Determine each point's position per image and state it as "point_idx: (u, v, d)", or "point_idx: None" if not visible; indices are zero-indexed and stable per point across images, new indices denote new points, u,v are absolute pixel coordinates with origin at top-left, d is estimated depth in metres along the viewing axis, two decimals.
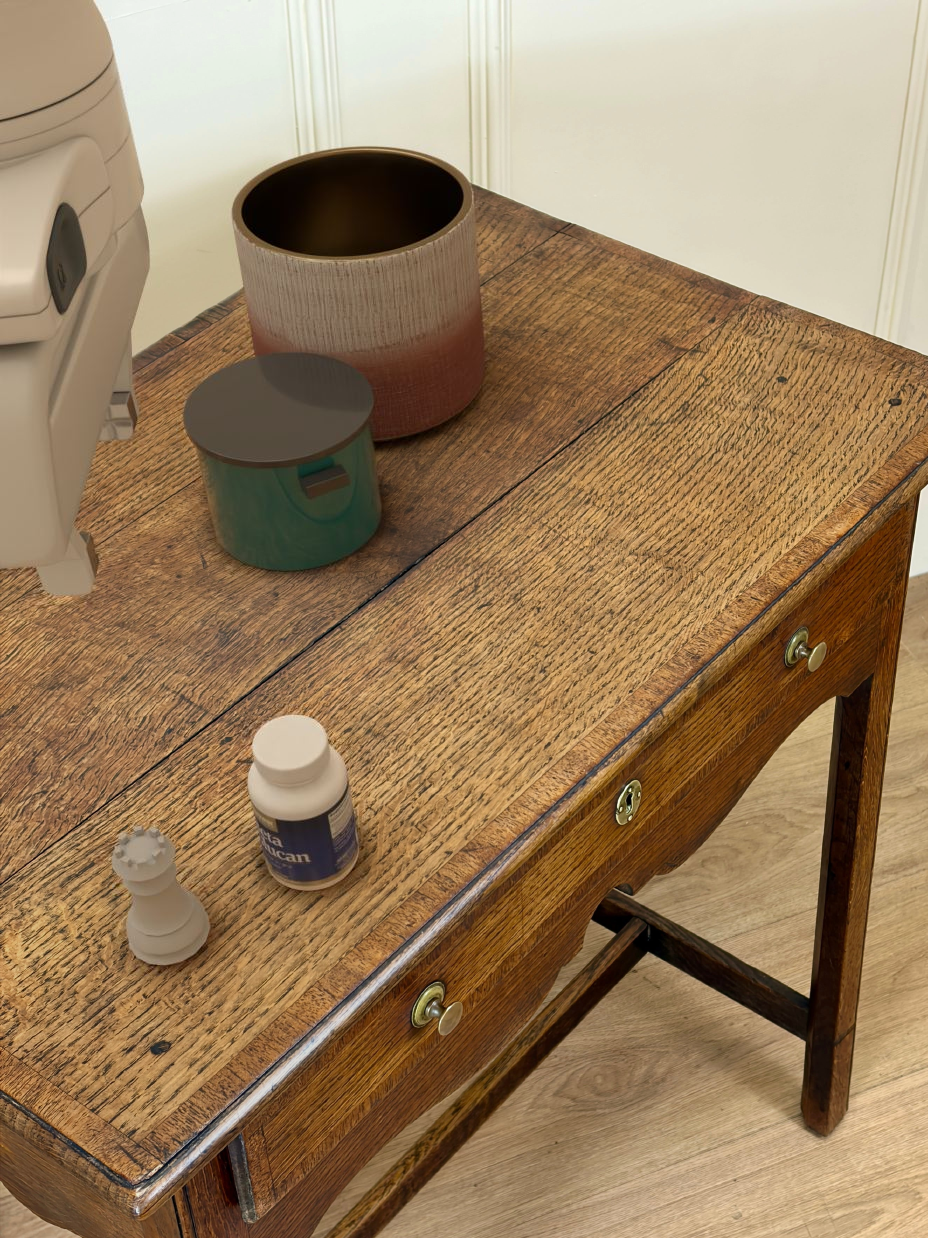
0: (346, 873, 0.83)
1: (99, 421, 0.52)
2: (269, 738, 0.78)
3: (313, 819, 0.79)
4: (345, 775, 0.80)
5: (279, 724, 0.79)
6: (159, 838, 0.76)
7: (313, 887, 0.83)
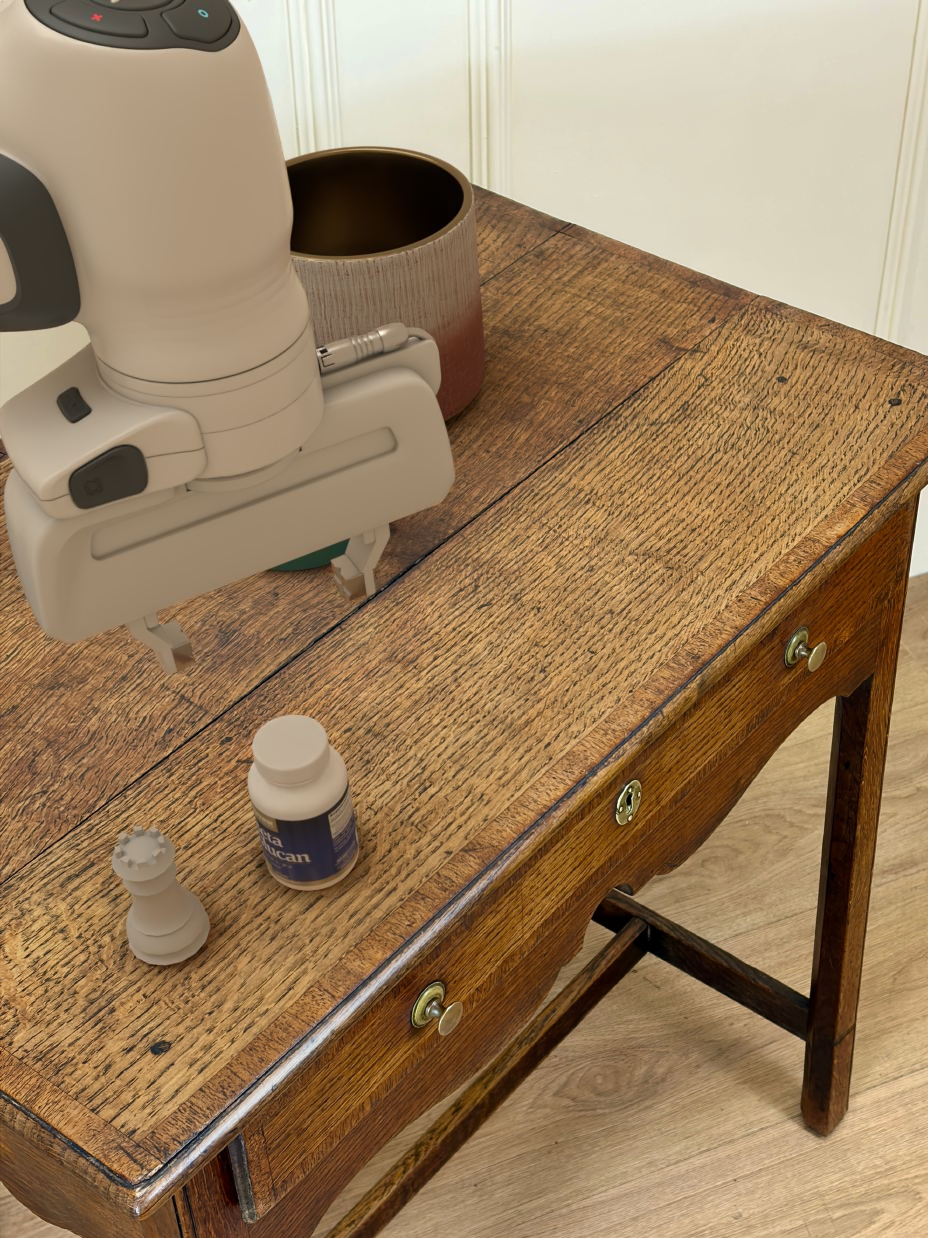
0: (346, 873, 0.83)
1: (211, 581, 0.66)
2: (269, 738, 0.78)
3: (313, 819, 0.79)
4: (345, 775, 0.80)
5: (280, 724, 0.79)
6: (159, 838, 0.76)
7: (313, 887, 0.83)
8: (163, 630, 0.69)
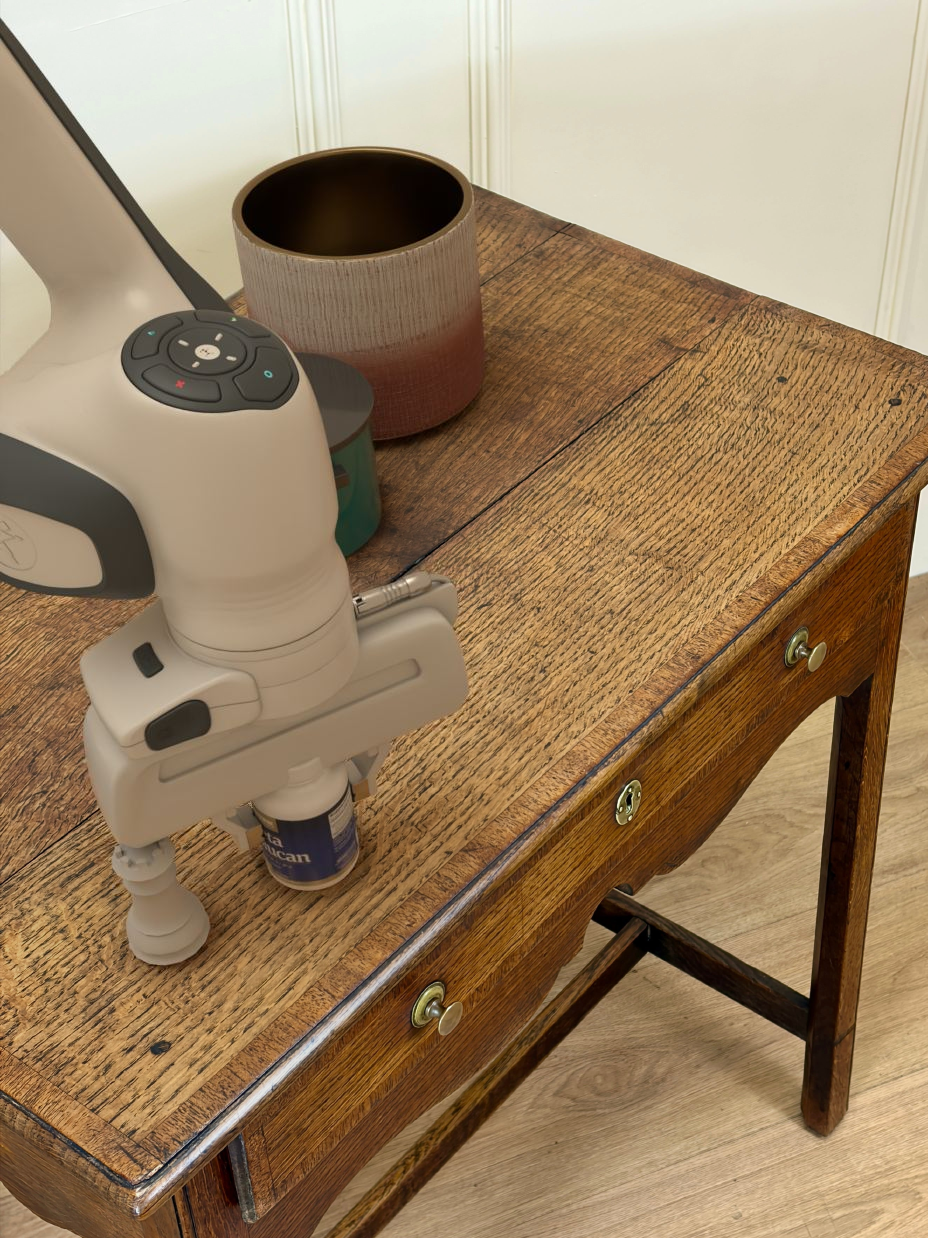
0: (346, 873, 0.83)
1: (259, 790, 0.76)
2: None
3: (314, 819, 0.79)
4: (345, 775, 0.80)
5: None
6: None
7: (313, 888, 0.83)
8: (238, 814, 0.80)
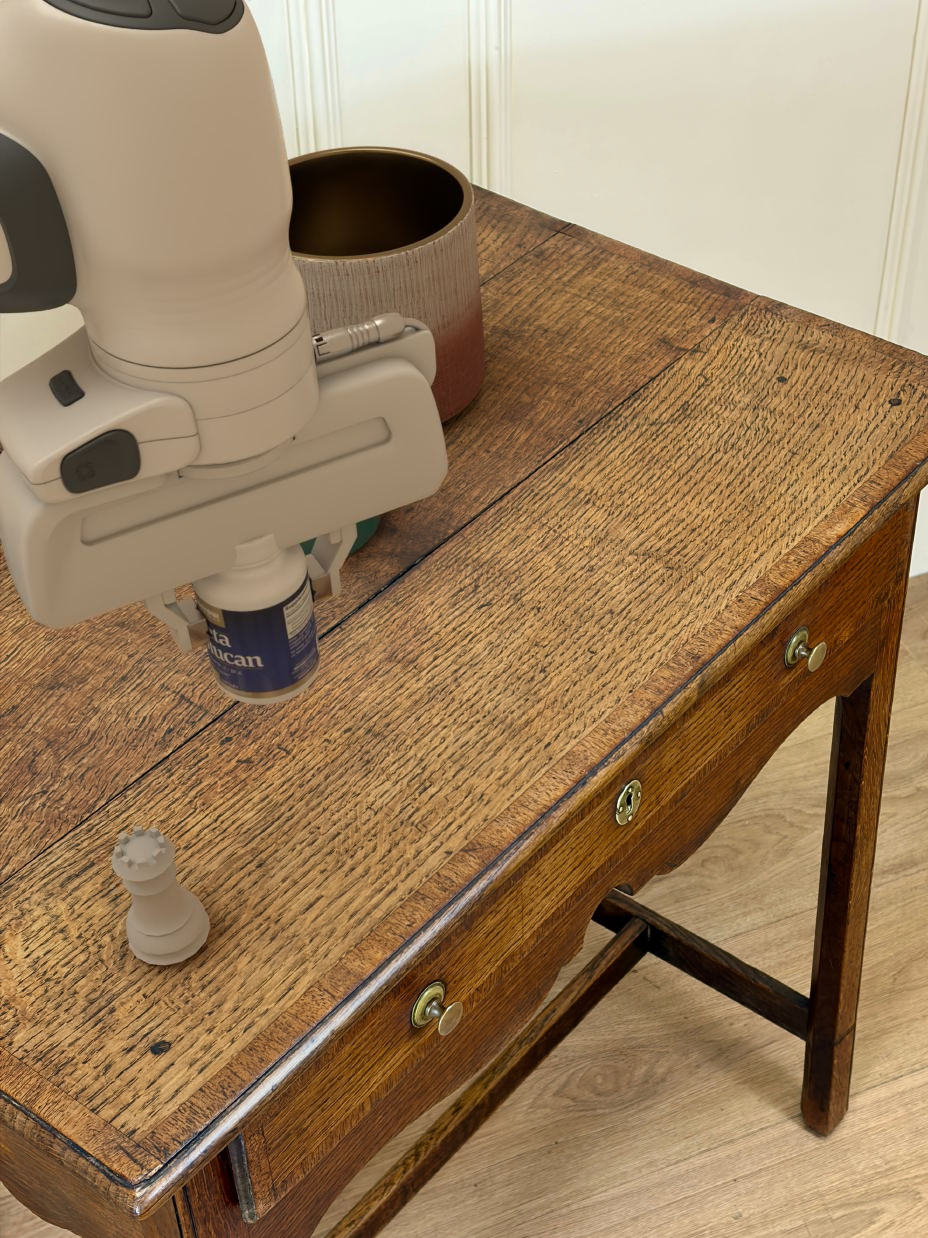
0: (305, 686, 0.73)
1: (201, 568, 0.66)
2: None
3: (266, 611, 0.68)
4: (304, 564, 0.69)
5: None
6: (159, 838, 0.76)
7: (267, 701, 0.72)
8: (179, 607, 0.69)
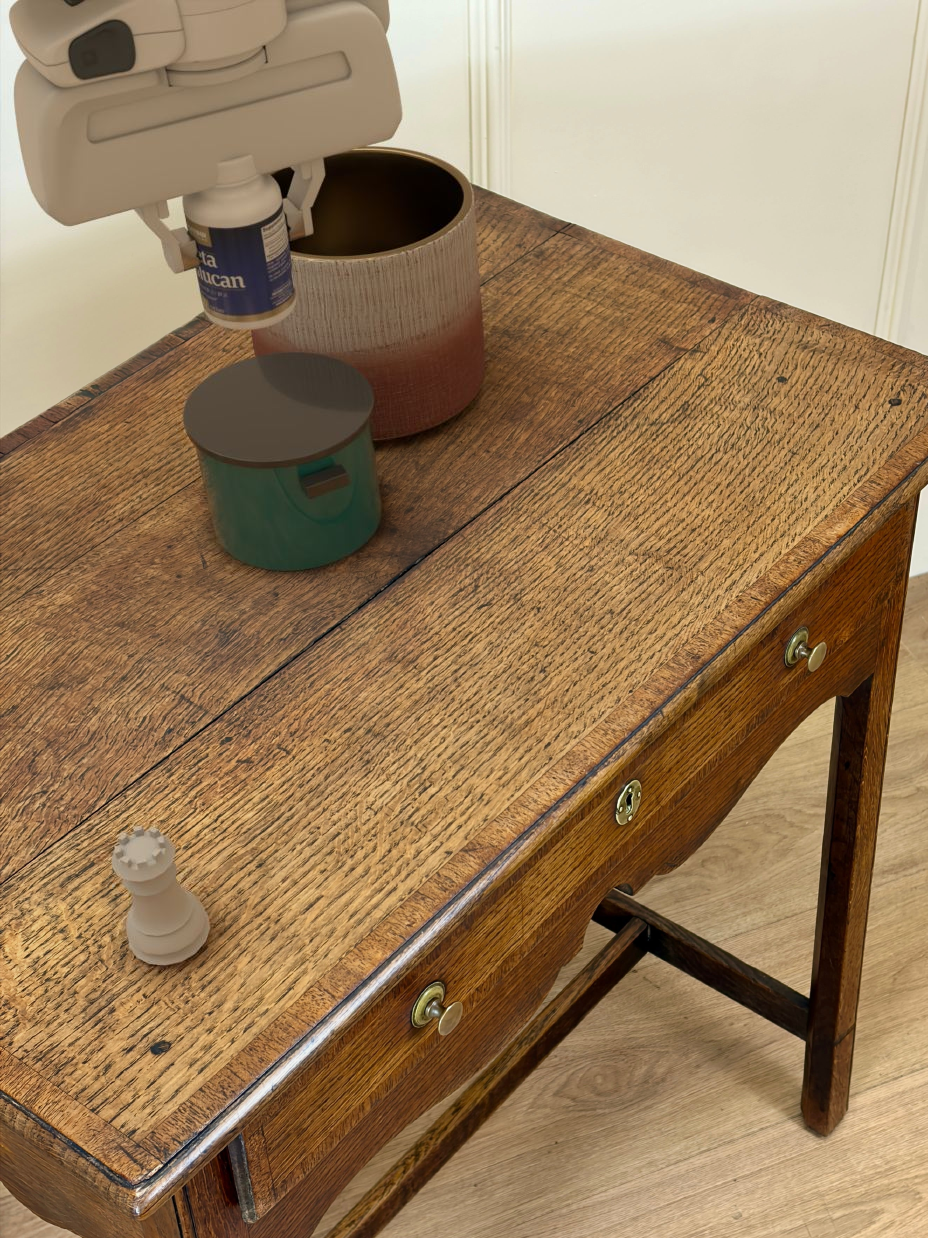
0: (282, 315, 0.84)
1: (190, 182, 0.77)
2: None
3: (246, 229, 0.80)
4: (279, 194, 0.81)
5: None
6: (159, 838, 0.76)
7: (249, 325, 0.84)
8: (172, 232, 0.81)
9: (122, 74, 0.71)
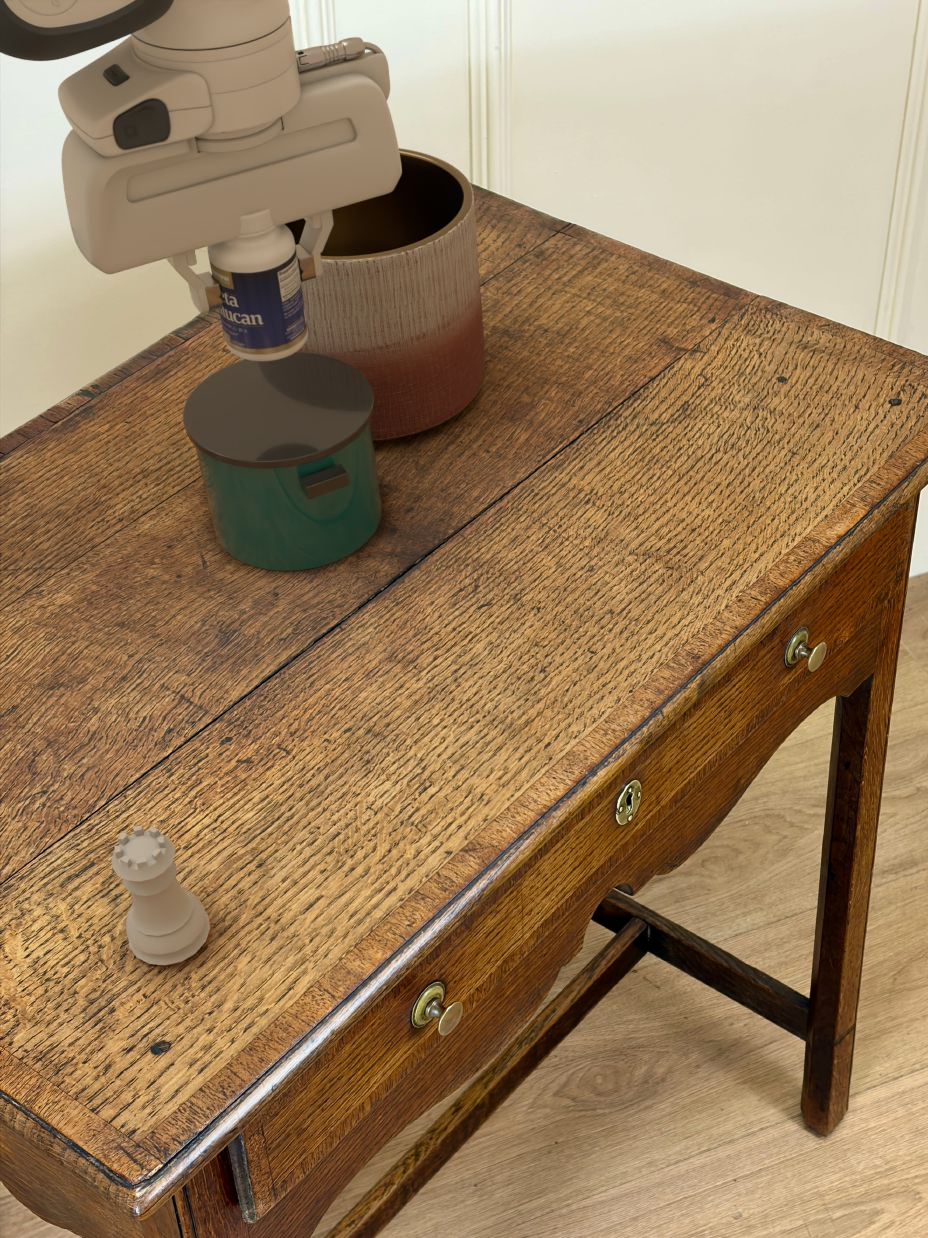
0: (296, 348, 0.95)
1: (215, 233, 0.88)
2: None
3: (264, 273, 0.90)
4: (293, 241, 0.91)
5: None
6: (159, 838, 0.76)
7: (266, 357, 0.94)
8: (199, 276, 0.91)
9: (158, 144, 0.81)
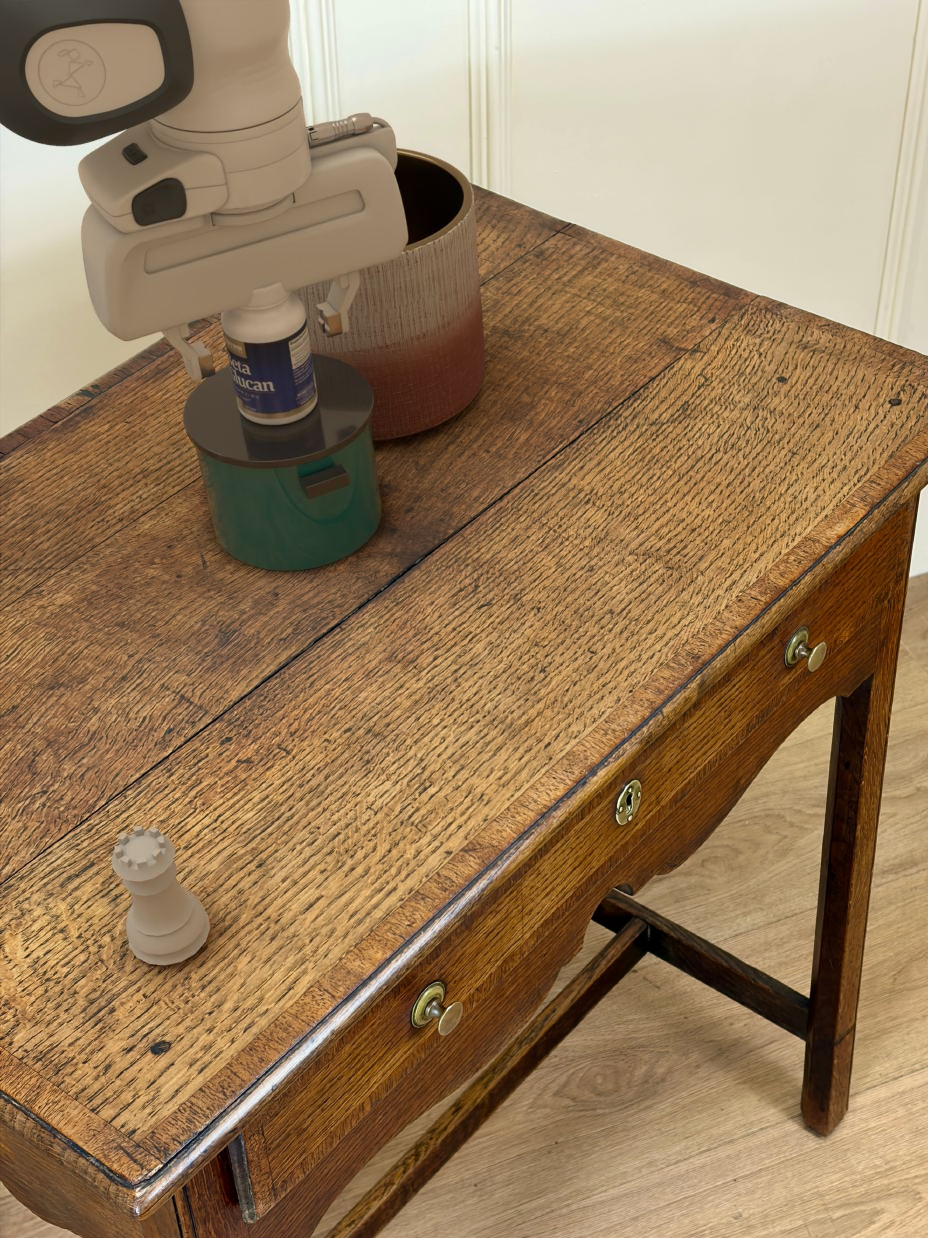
0: (306, 412, 0.98)
1: (228, 301, 0.91)
2: None
3: (276, 343, 0.93)
4: (303, 312, 0.95)
5: None
6: (159, 838, 0.76)
7: (278, 421, 0.97)
8: (192, 346, 0.94)
9: (175, 220, 0.84)
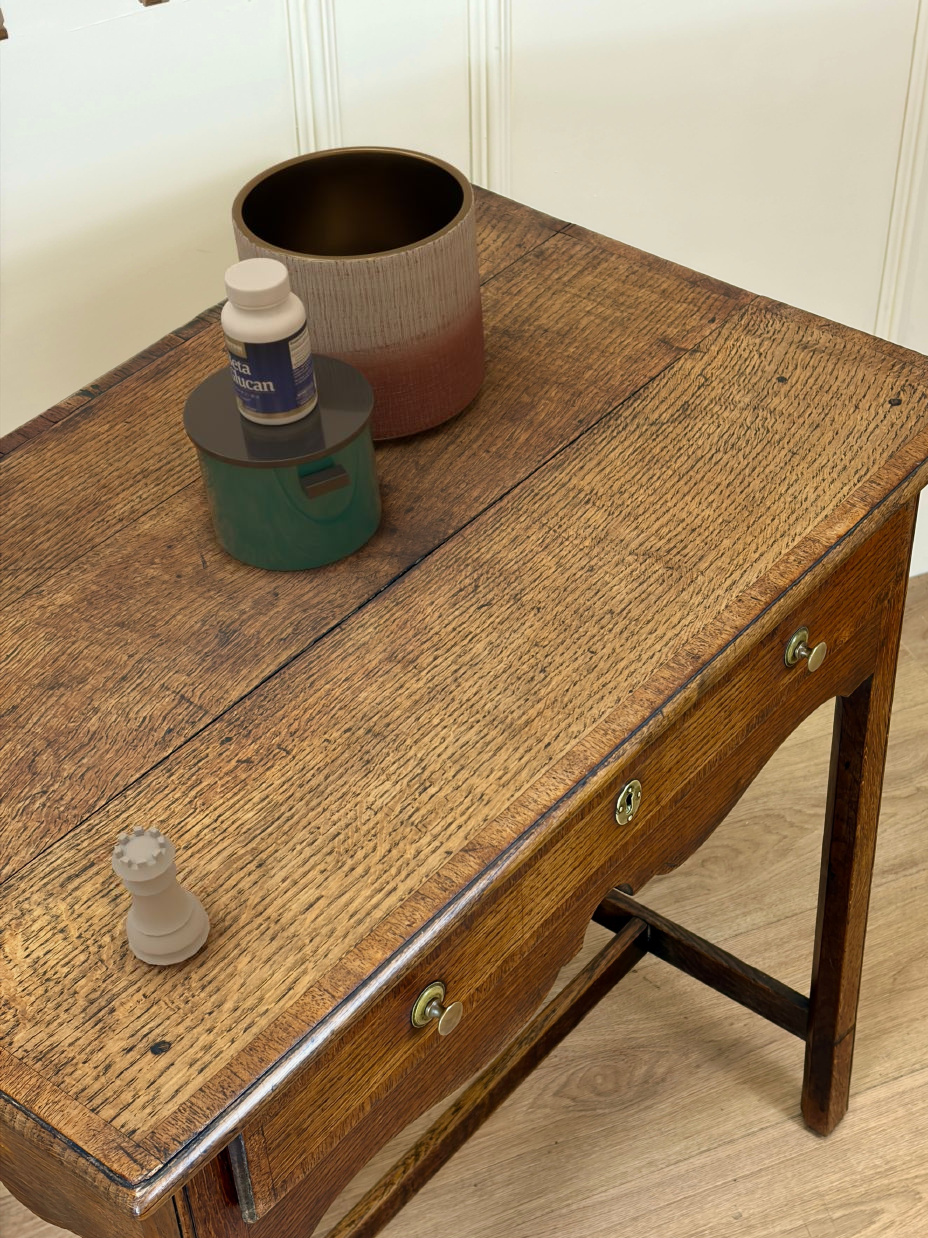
0: (306, 412, 0.98)
1: None
2: (239, 272, 0.93)
3: (276, 343, 0.93)
4: (303, 312, 0.95)
5: (248, 263, 0.94)
6: (159, 838, 0.76)
7: (278, 421, 0.97)
8: None
9: None
